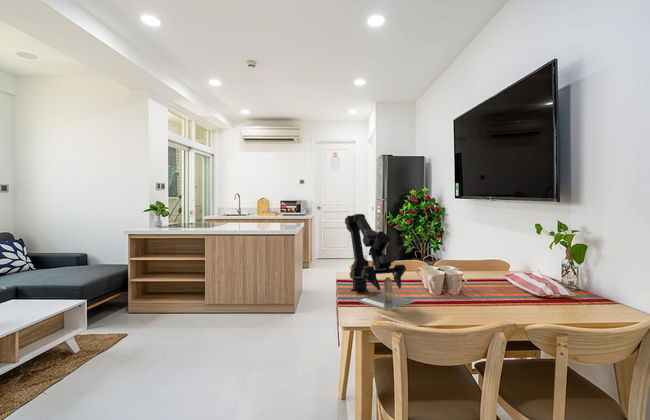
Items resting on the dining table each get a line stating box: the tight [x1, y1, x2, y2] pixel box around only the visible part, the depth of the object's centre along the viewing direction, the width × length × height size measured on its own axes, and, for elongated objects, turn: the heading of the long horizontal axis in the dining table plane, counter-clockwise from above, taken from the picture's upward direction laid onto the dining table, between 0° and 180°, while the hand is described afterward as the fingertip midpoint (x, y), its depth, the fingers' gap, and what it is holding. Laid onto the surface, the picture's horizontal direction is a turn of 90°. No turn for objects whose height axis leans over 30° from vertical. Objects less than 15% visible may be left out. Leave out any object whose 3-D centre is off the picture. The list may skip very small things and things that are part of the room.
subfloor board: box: [356, 293, 417, 312], centre depth 145 cm, size 17×20×1 cm
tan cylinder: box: [383, 276, 393, 308], centre depth 136 cm, size 4×4×12 cm
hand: (390, 289), depth 135 cm, fingers open, 9 cm apart
